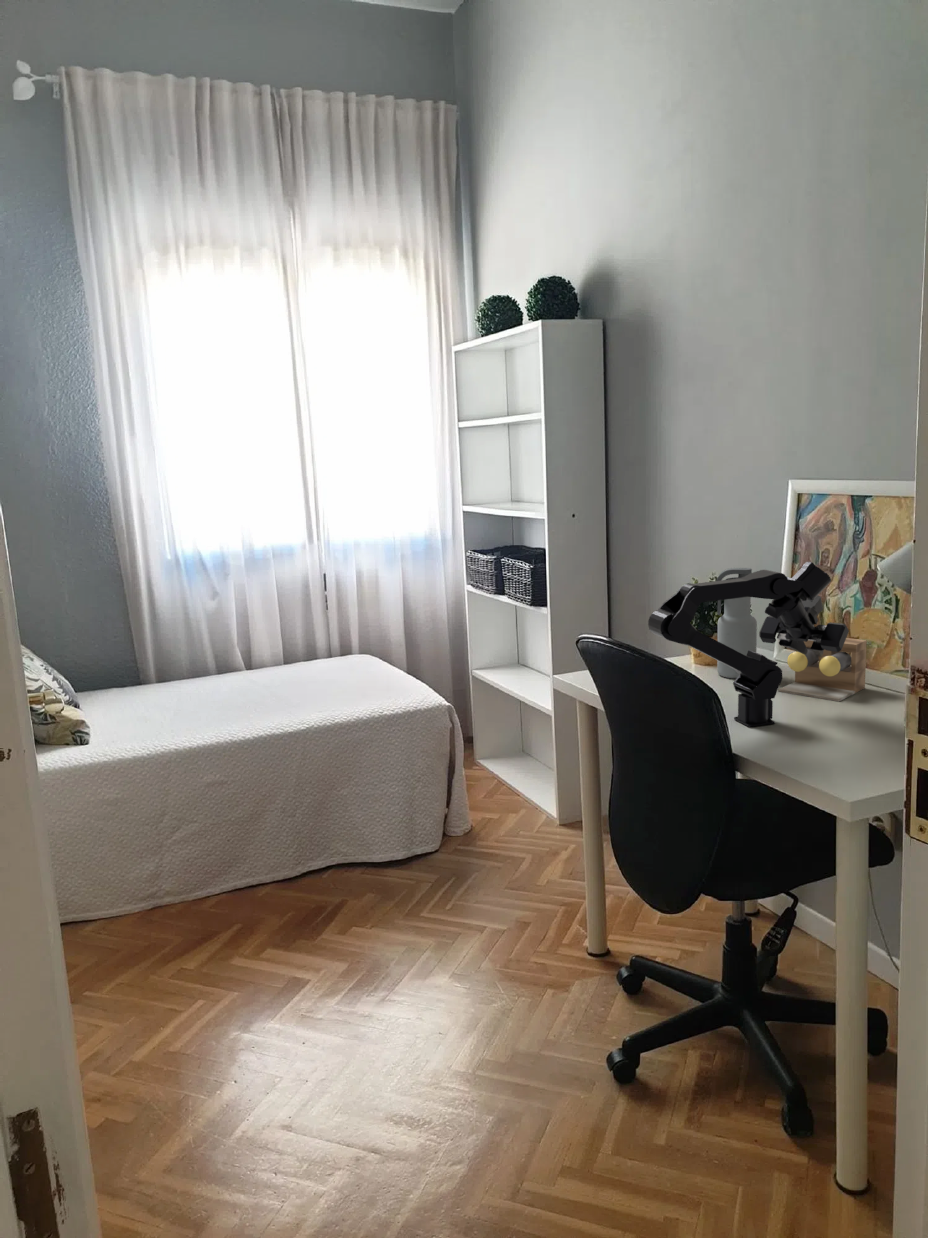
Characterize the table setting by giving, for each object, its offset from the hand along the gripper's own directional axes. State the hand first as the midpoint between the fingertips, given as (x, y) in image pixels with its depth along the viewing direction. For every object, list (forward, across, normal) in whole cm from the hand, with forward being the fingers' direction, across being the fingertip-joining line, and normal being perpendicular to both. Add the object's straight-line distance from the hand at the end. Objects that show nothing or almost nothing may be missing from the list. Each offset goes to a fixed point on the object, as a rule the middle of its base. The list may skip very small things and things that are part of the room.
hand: (813, 653), depth 219 cm
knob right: (+13, 0, -4) cm, 14 cm away
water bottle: (+19, +28, -2) cm, 34 cm away
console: (+18, +4, -1) cm, 18 cm away
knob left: (+13, +8, -4) cm, 16 cm away
